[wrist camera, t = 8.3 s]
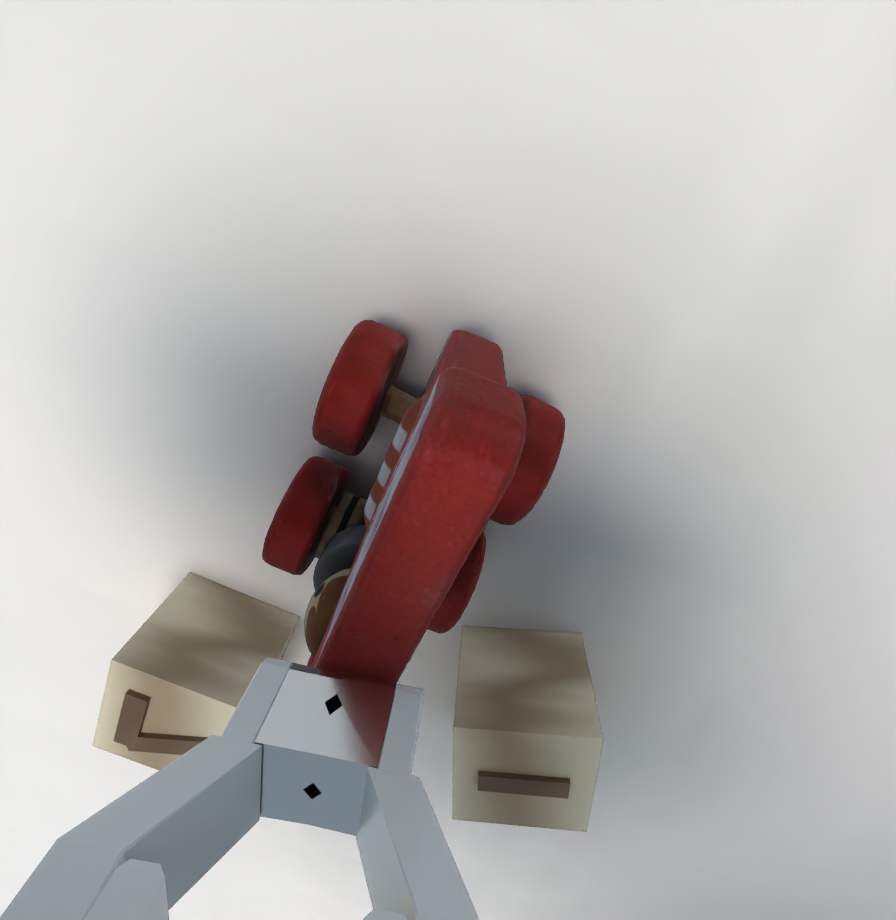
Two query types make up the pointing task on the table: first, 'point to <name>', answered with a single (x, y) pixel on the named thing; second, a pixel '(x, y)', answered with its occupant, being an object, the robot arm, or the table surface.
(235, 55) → the table surface
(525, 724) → the maple cube one
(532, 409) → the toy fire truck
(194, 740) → the maple cube seven
